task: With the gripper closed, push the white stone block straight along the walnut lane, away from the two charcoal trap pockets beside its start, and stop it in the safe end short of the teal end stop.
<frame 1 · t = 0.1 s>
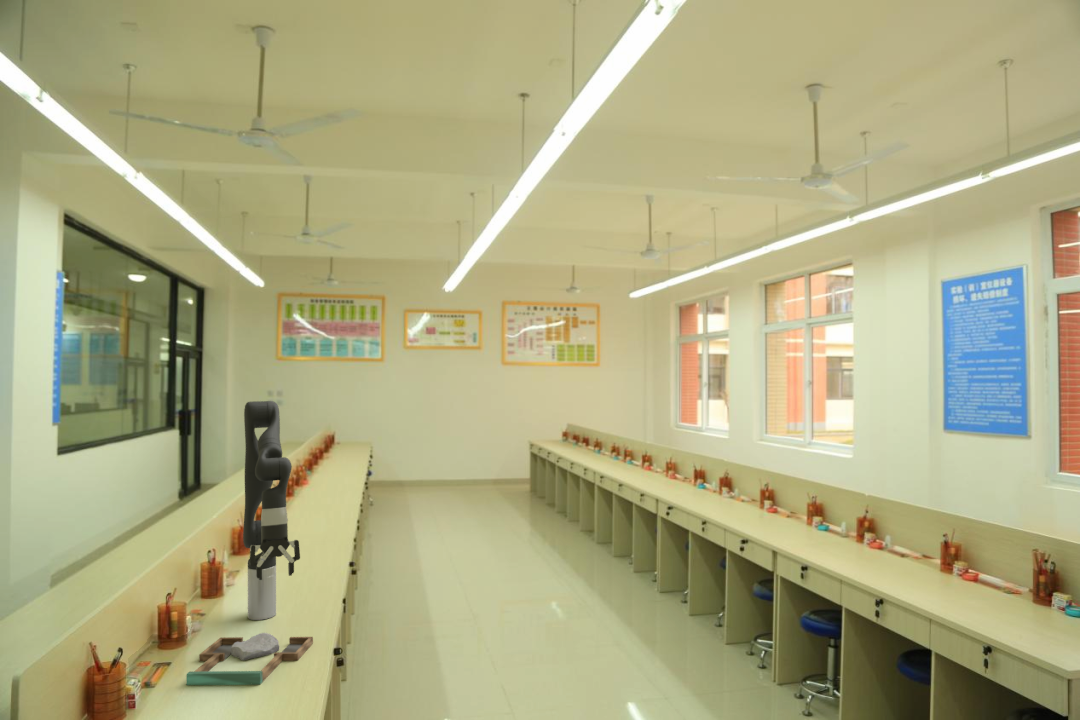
hand: (275, 577, 205), 22 cm above the table, tool pointing down, fingers open, 8 cm apart
trap lane: (246, 662, 197), on the table
stone block: (256, 654, 204), on the table
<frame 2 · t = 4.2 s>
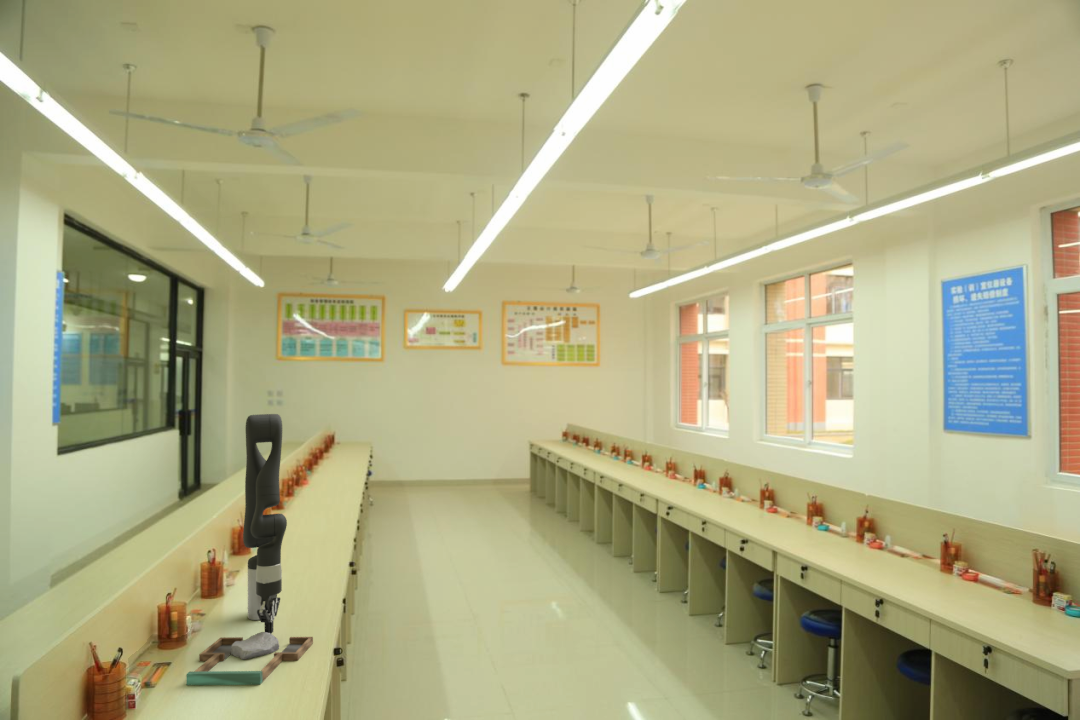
hand: (268, 633, 213), 3 cm above the table, tool pointing down, fingers closed
stone block: (256, 653, 205), on the table, touching gripper
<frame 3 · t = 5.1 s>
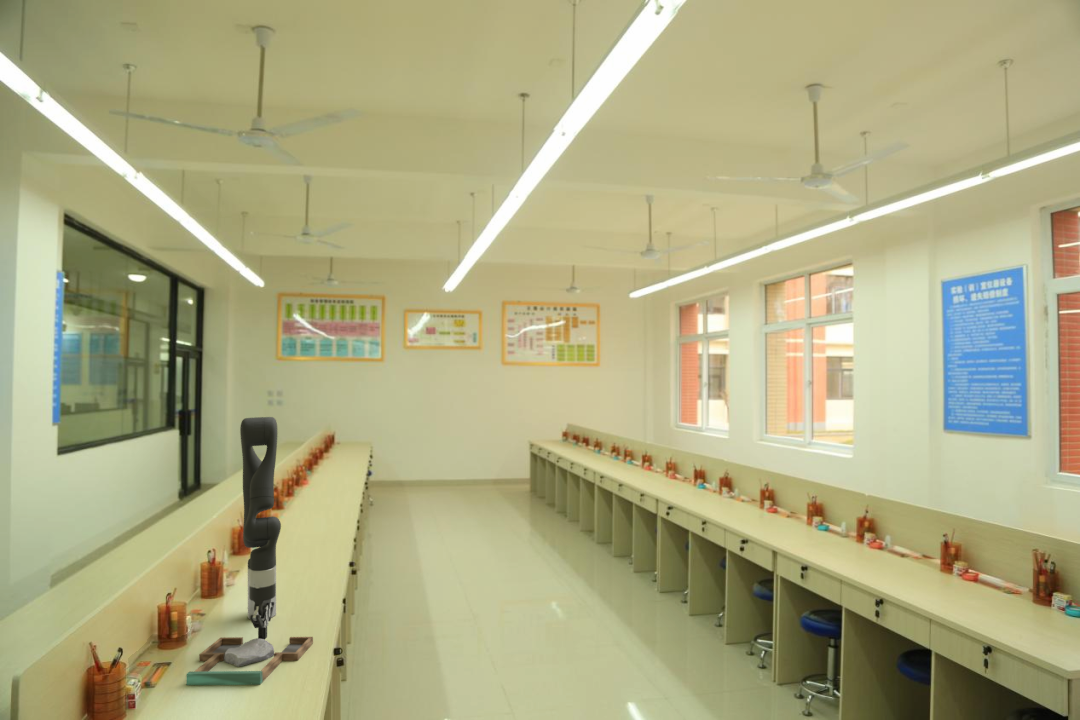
hand: (262, 638, 208), 3 cm above the table, tool pointing down, fingers closed
stone block: (251, 660, 200), on the table, touching gripper
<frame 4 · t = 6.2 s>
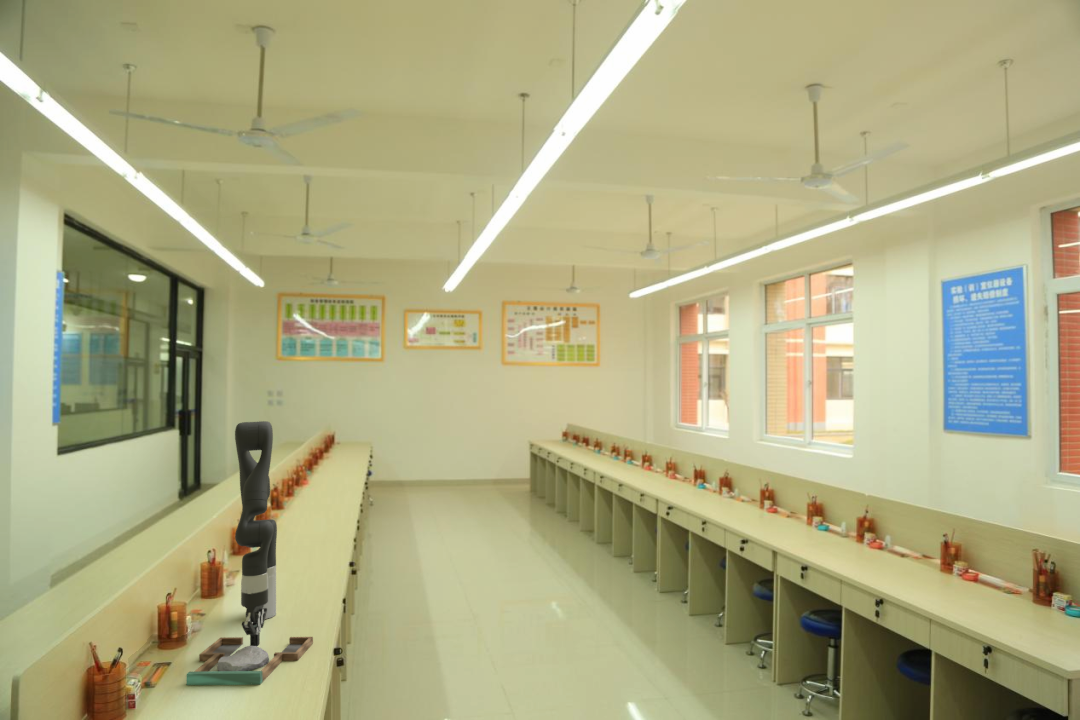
hand: (254, 646, 203), 3 cm above the table, tool pointing down, fingers closed
stone block: (245, 668, 194), on the table, touching gripper
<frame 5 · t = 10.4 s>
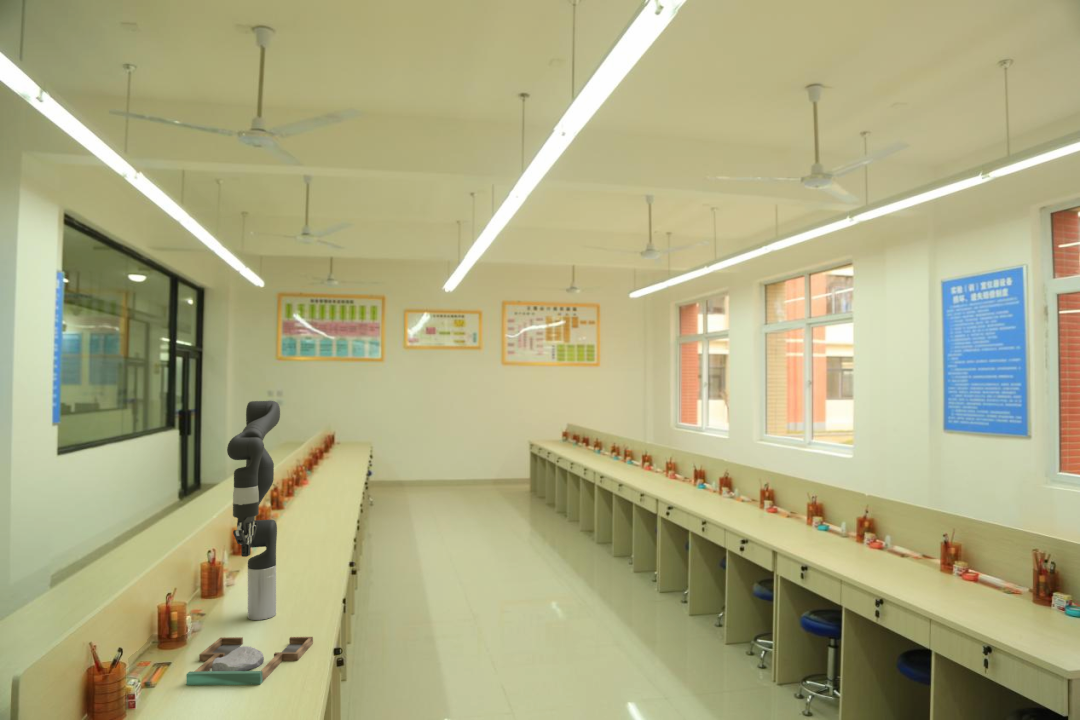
hand: (245, 556, 213), 27 cm above the table, tool pointing down, fingers closed
stone block: (239, 669, 194), on the table
at the end: stone block inside the target area (1.9 cm from its centre), on the table; stone block tilted 0°; stone block moved 10.2 cm from its start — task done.
